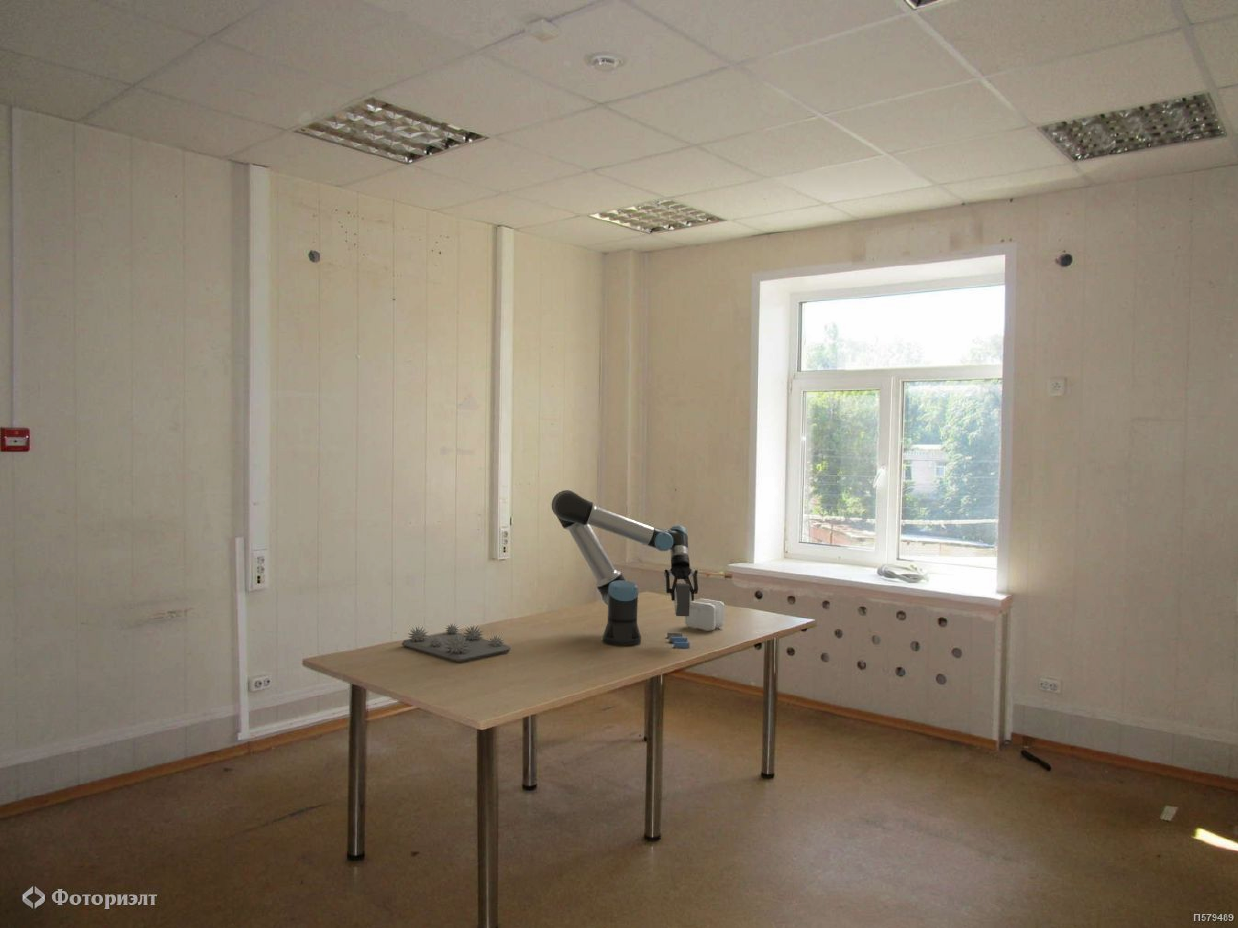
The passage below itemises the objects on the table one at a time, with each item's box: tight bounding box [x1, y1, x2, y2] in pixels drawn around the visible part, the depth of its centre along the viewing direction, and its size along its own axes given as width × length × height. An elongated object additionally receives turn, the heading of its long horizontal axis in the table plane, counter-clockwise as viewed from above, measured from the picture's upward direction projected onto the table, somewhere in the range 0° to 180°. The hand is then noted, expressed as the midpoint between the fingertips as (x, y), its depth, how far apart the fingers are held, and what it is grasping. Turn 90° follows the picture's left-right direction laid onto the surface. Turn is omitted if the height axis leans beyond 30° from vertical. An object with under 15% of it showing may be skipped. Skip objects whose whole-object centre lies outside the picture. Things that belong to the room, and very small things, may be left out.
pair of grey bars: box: [666, 631, 685, 643], centre depth 334 cm, size 6×9×2 cm
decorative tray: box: [401, 623, 512, 664], centre depth 306 cm, size 35×26×10 cm
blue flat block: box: [671, 637, 691, 649], centre depth 325 cm, size 6×9×2 cm
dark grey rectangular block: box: [674, 582, 690, 617], centre depth 324 cm, size 5×5×12 cm
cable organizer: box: [684, 598, 726, 632], centre depth 358 cm, size 15×11×12 cm
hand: (683, 607), depth 321 cm, fingers closed on dark grey rectangular block, 5 cm apart
